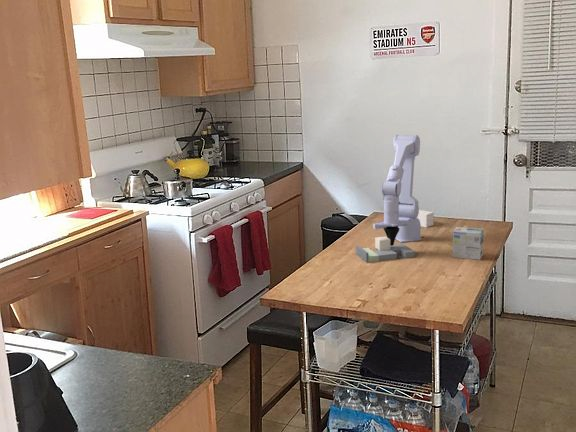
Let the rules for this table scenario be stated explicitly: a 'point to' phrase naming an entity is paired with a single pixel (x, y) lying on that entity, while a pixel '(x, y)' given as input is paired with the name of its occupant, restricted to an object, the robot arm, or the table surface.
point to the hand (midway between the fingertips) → (391, 244)
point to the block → (382, 243)
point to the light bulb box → (468, 243)
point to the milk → (426, 218)
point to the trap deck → (385, 253)
